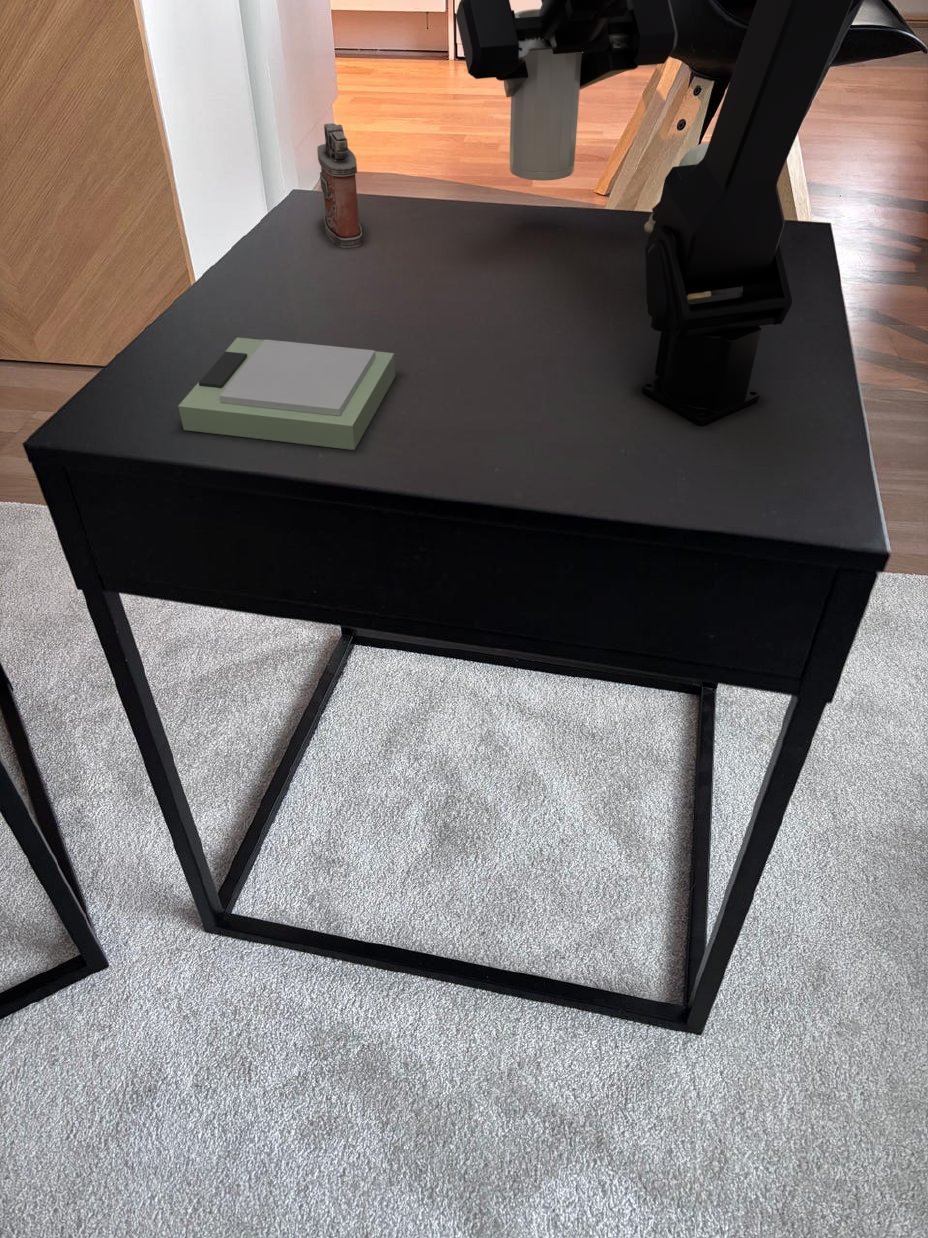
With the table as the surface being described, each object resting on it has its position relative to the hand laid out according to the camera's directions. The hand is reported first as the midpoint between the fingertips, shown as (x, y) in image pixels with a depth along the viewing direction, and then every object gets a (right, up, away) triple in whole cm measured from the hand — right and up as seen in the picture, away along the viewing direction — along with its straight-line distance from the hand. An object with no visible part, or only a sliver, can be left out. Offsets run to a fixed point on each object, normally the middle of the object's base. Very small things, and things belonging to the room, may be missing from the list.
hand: (540, 89), depth 89 cm
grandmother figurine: (+12, -21, -3) cm, 24 cm away
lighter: (-20, -10, +8) cm, 24 cm away
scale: (-20, -34, -17) cm, 43 cm away
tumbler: (0, -6, +4) cm, 7 cm away
